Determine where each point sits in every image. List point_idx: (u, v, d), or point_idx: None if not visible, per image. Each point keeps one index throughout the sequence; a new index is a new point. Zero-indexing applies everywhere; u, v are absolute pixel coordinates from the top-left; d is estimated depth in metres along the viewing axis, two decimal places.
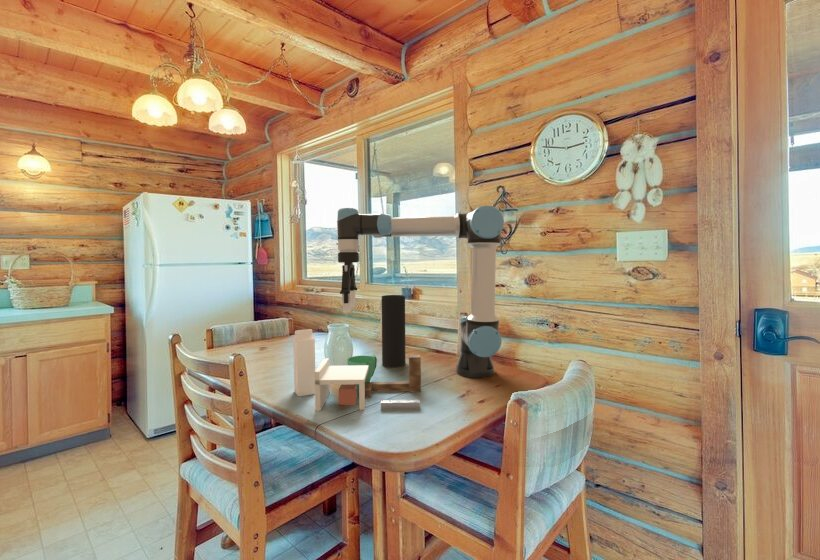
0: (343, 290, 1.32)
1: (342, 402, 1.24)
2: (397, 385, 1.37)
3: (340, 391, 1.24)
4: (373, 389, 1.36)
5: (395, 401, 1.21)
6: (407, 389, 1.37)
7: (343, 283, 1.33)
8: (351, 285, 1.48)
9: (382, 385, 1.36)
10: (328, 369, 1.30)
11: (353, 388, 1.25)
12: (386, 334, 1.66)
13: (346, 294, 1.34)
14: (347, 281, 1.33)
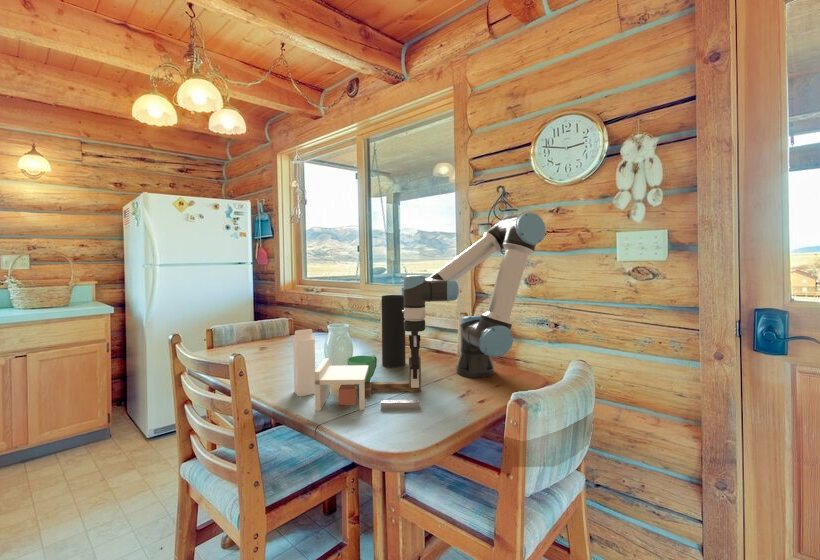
0: (413, 367, 1.32)
1: (342, 402, 1.24)
2: (397, 385, 1.37)
3: (340, 391, 1.24)
4: (373, 389, 1.36)
5: (395, 401, 1.21)
6: (407, 389, 1.37)
7: (413, 360, 1.32)
8: None
9: (382, 385, 1.36)
10: (328, 369, 1.30)
11: (353, 388, 1.25)
12: (386, 334, 1.66)
13: (415, 370, 1.34)
14: (417, 358, 1.32)
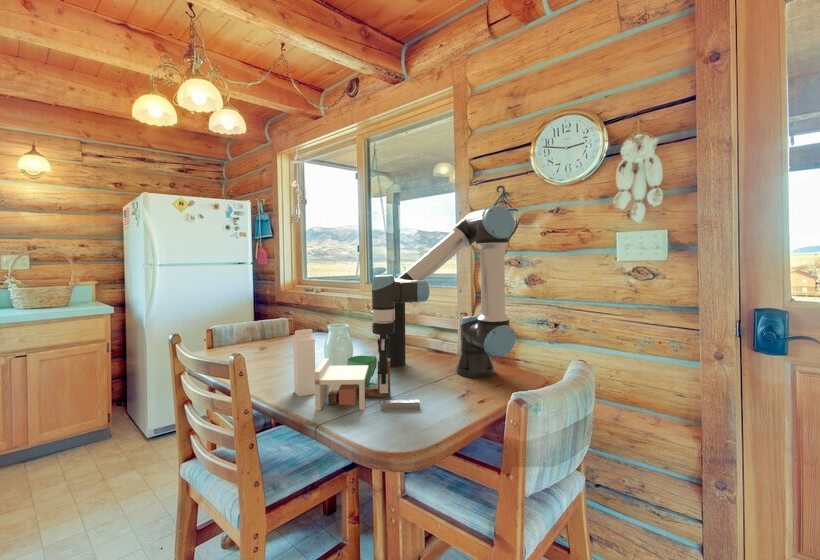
0: (381, 371, 1.26)
1: (342, 402, 1.24)
2: (365, 390, 1.30)
3: (340, 391, 1.24)
4: None
5: (395, 401, 1.21)
6: (376, 394, 1.31)
7: (381, 365, 1.25)
8: None
9: None
10: (328, 369, 1.30)
11: (353, 388, 1.25)
12: None
13: (384, 375, 1.27)
14: (385, 362, 1.25)
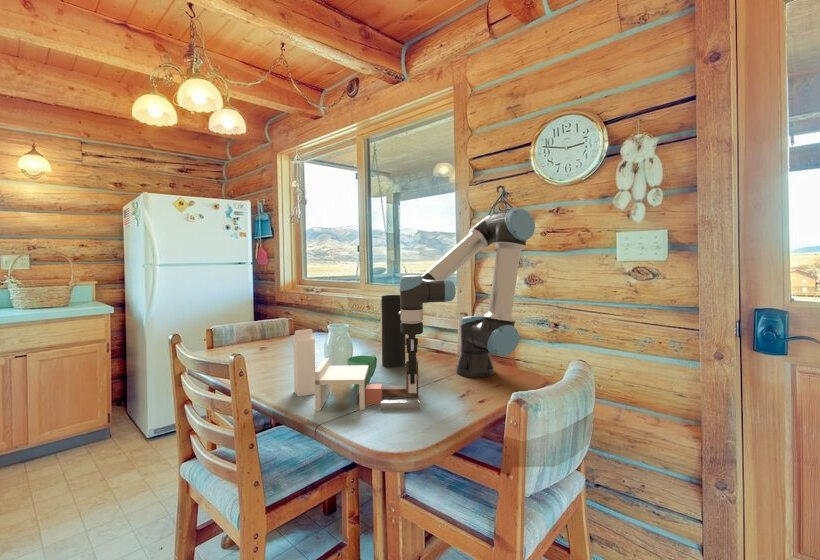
0: (411, 372, 1.26)
1: (369, 401, 1.24)
2: (394, 390, 1.31)
3: (367, 390, 1.24)
4: None
5: (395, 401, 1.21)
6: (404, 394, 1.31)
7: (410, 365, 1.26)
8: None
9: None
10: (328, 369, 1.30)
11: (380, 388, 1.25)
12: (386, 334, 1.66)
13: (413, 375, 1.28)
14: (414, 362, 1.26)
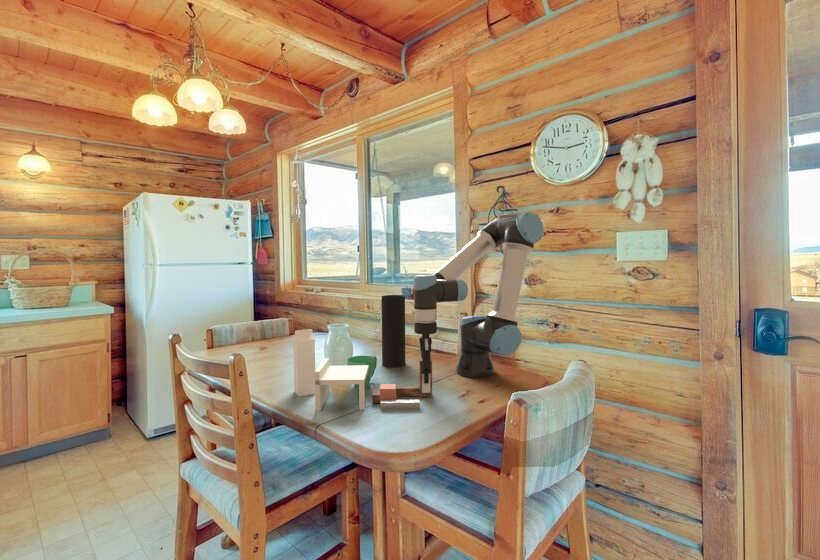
0: (425, 371, 1.26)
1: None
2: (407, 390, 1.31)
3: (381, 390, 1.24)
4: None
5: (395, 401, 1.21)
6: (418, 394, 1.31)
7: (424, 364, 1.26)
8: None
9: None
10: (328, 369, 1.30)
11: (394, 388, 1.25)
12: (386, 334, 1.66)
13: (427, 374, 1.28)
14: (428, 362, 1.26)
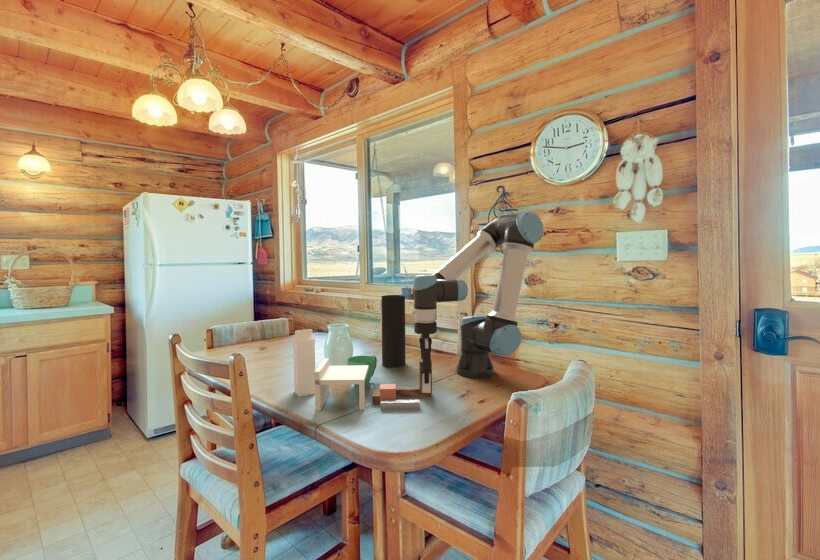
0: (425, 371, 1.24)
1: None
2: (407, 391, 1.31)
3: (381, 390, 1.24)
4: None
5: (395, 401, 1.21)
6: (418, 395, 1.31)
7: (425, 363, 1.24)
8: None
9: None
10: (328, 369, 1.30)
11: (394, 388, 1.25)
12: (386, 334, 1.66)
13: (427, 374, 1.26)
14: (429, 361, 1.24)
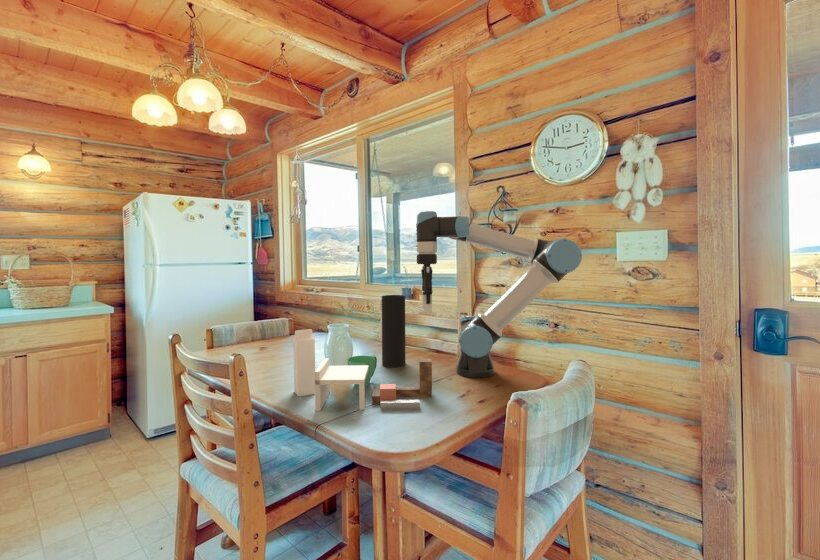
0: (427, 291, 1.36)
1: None
2: (407, 391, 1.31)
3: (381, 390, 1.24)
4: None
5: (395, 401, 1.21)
6: (418, 395, 1.31)
7: (426, 284, 1.37)
8: None
9: None
10: (328, 369, 1.30)
11: (394, 388, 1.25)
12: (386, 334, 1.66)
13: (429, 295, 1.38)
14: (430, 282, 1.37)
